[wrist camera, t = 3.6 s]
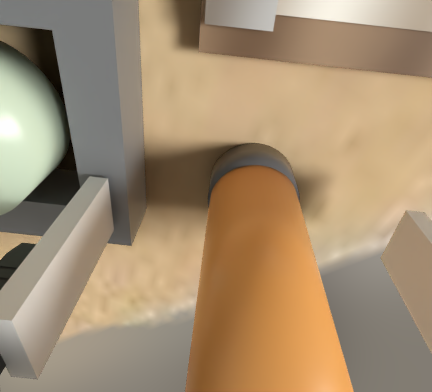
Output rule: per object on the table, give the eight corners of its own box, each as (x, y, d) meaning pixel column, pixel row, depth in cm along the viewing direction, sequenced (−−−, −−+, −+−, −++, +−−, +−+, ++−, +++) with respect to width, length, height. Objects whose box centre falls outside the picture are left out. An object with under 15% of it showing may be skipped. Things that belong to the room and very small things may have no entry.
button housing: (-50, 187, 17) (-99, 220, 15) (-167, -69, 11) (-283, -86, 9) (146, 208, 17) (131, 245, 15) (136, -36, 11) (108, -42, 9)
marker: (207, 209, 17) (167, 513, 7) (214, 138, 15) (167, 444, 5) (283, 217, 17) (346, 532, 7) (302, 148, 15) (432, 472, 5)
